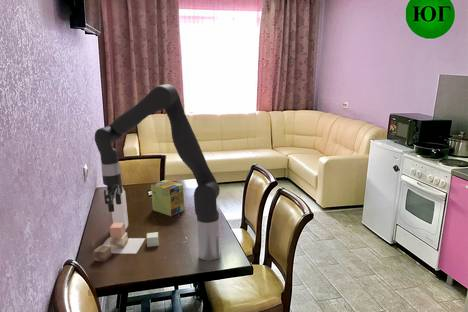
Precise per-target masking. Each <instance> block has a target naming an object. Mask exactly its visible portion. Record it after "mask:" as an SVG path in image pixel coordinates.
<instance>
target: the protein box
mask: <svg viewBox="0 0 468 312" xmlns="http://www.w3.org/2000/svg"><path fill="white" fill-rule="evenodd" d="M150 190H151V191H150V192H151V203H152V211H154V212H158V213H160V214H163V215H166V216H169V217H172V216H175V215H177V214H180V213H181V212H184V211H185V199H184V198H185V196H184V195H185V193H184V184H183V183H178V182H174V181H170V180H167V179H164V180H161V181H157V182H155V183H151V184H150Z"/></svg>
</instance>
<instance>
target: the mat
mask: <svg viewBox="0 0 468 312" xmlns="http://www.w3.org/2000/svg"><path fill="white" fill-rule="evenodd" d="M109 238H110V237H108V238H107V239H106V240H105V241H104V243H102V245H101V246H110V241H109ZM145 240H146V237H145V238H144V237H143V238H142V237H137V238H136V237H134V238H133V237H132V238H131V237H129V238H128V243H127V245H126V246H125V247H124V249H111V254H137V253H138V252H139V250H140V248H141V247H142V245H143V243H144V242H145Z"/></svg>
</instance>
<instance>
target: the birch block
mask: <svg viewBox="0 0 468 312" xmlns="http://www.w3.org/2000/svg"><path fill="white" fill-rule="evenodd" d="M125 232H126V231H125ZM108 238H109V241H110V247H111V249H124V247H125V246H126V245H127V243H128V231H127V232H126V233H125V234H124V236H123V237H122V238H111V236H110V237H108Z"/></svg>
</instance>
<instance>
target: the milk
mask: <svg viewBox="0 0 468 312" xmlns="http://www.w3.org/2000/svg"><path fill="white" fill-rule="evenodd" d="M115 197H116V196H115ZM126 197H127V196H126V190H125V189H124V187H123V186H122V193H121V204H118V205H117V204H116V199H114V202H113V203H114V212H111V217H112V224H113V223H125V230H127V228H128V227H129V217H128V209H127V208H128V207H127V198H126ZM111 200H112V199H111Z"/></svg>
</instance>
